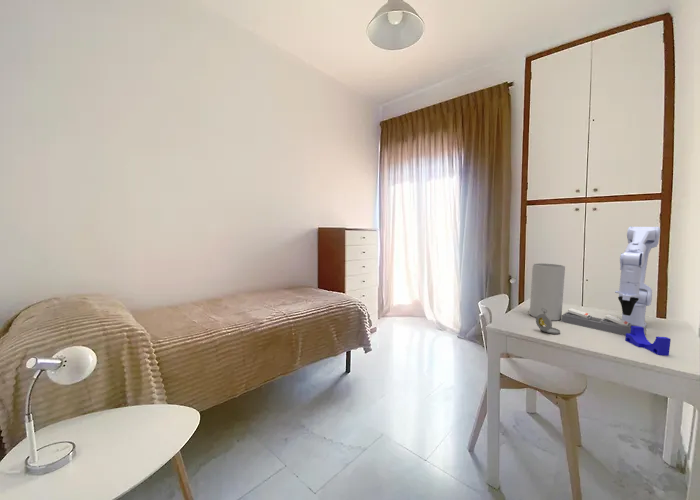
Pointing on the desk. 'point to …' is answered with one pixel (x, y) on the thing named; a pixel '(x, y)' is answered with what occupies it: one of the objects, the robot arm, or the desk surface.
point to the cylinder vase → (547, 290)
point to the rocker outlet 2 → (616, 320)
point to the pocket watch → (546, 323)
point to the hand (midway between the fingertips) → (626, 314)
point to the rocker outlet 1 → (578, 313)
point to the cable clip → (640, 340)
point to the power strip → (598, 323)
